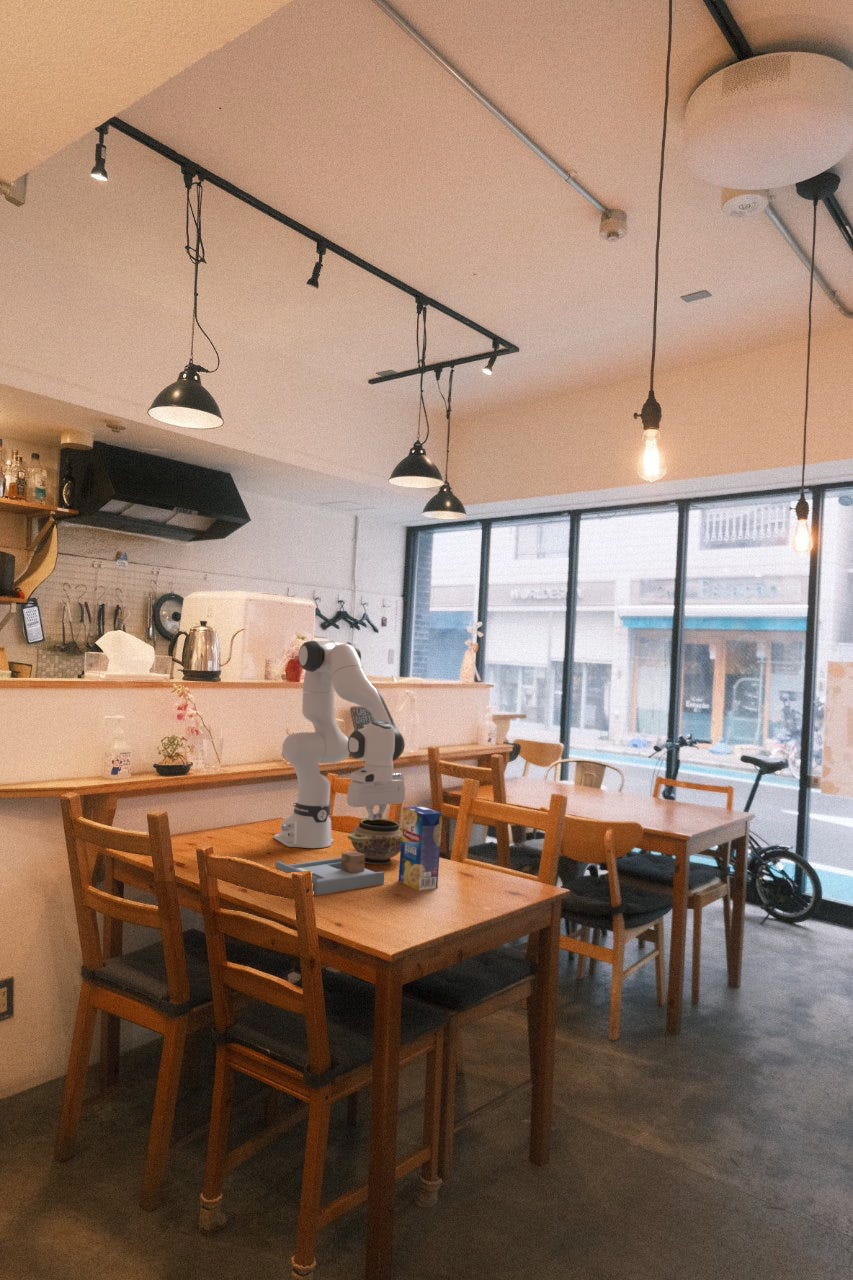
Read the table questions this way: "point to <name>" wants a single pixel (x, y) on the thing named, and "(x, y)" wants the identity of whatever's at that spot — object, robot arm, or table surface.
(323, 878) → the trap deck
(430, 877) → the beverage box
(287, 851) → the table surface
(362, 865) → the block
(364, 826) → the ceramic bowl
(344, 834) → the table surface
